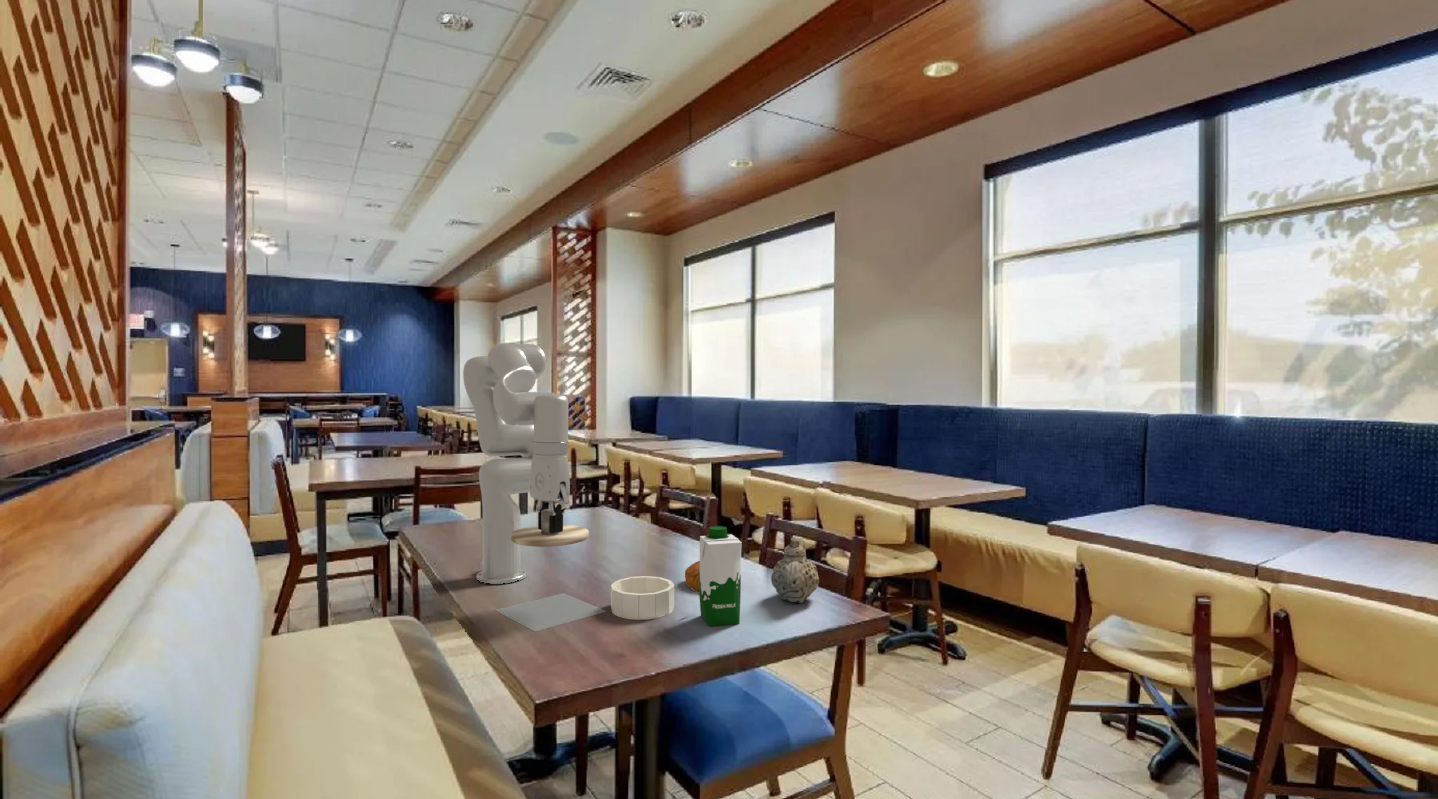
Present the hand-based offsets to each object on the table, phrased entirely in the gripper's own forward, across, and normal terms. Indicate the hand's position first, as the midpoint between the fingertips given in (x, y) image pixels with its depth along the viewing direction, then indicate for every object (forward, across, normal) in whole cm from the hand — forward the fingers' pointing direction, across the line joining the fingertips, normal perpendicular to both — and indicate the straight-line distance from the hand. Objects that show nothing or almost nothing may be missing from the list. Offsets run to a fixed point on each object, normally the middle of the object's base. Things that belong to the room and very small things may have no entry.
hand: (550, 529), depth 153 cm
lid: (+2, 0, 0) cm, 2 cm away
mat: (+19, 0, 0) cm, 19 cm away
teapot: (+19, +32, +49) cm, 61 cm away
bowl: (+19, +13, +16) cm, 28 cm away
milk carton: (+19, +29, +25) cm, 43 cm away
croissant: (+19, +10, +42) cm, 47 cm away
